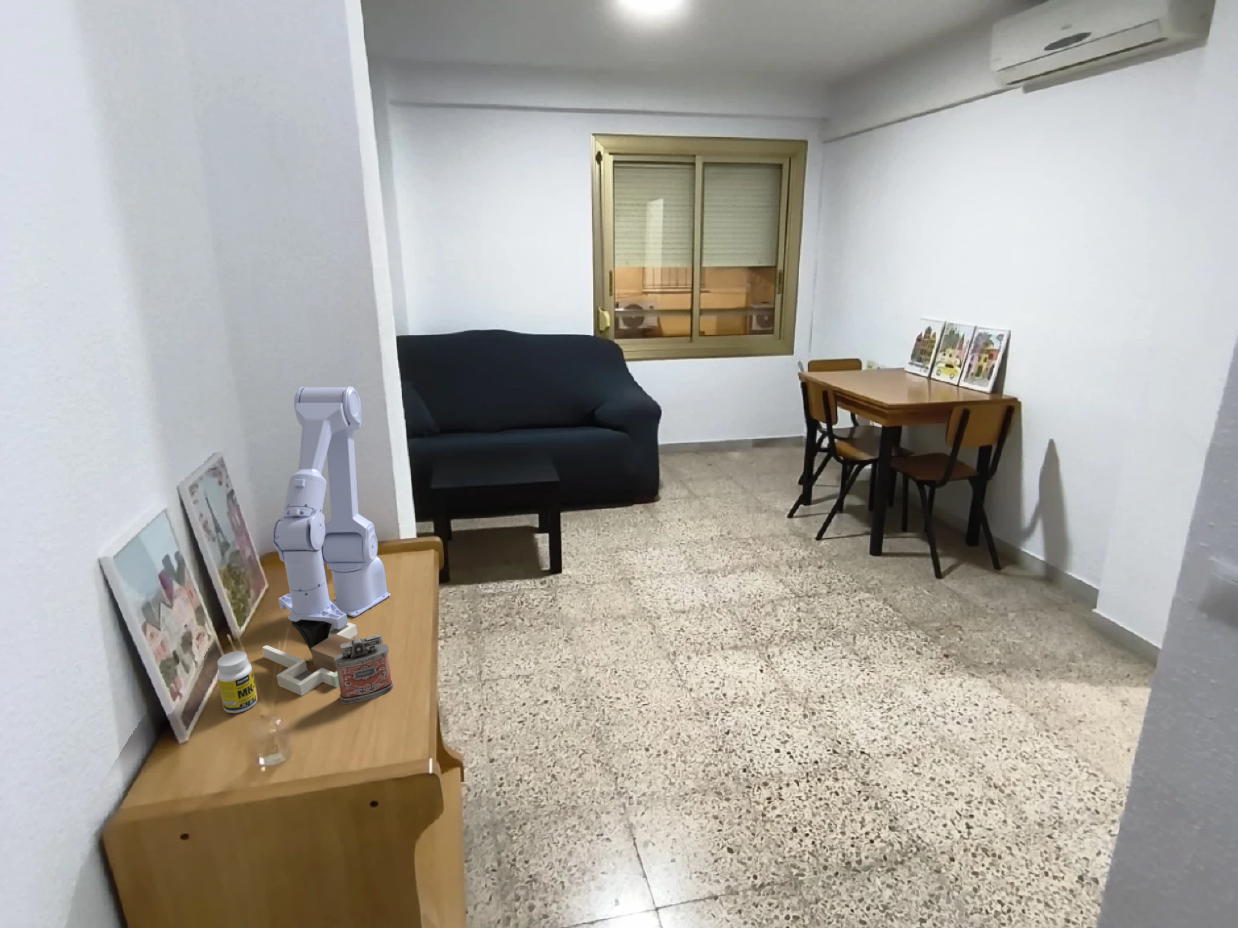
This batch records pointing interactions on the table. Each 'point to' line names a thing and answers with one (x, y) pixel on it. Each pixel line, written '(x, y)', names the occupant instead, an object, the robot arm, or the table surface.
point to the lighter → (363, 669)
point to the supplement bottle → (236, 682)
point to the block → (328, 652)
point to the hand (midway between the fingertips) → (319, 652)
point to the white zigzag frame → (297, 672)
